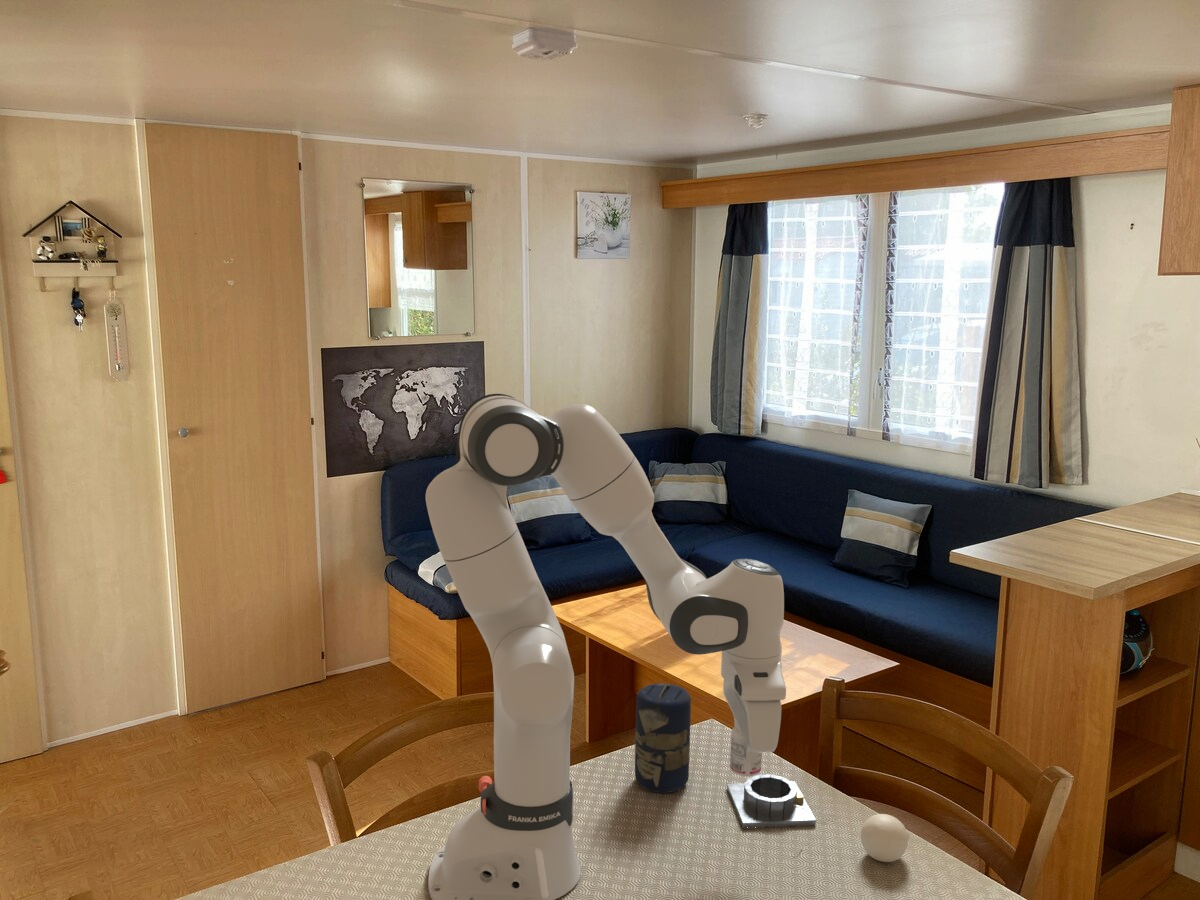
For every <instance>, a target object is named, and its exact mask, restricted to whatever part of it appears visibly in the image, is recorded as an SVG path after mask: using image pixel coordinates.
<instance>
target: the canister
mask: <svg viewBox="0 0 1200 900" xmlns="http://www.w3.org/2000/svg"><path fill="white" fill-rule="evenodd" d="M635 704H636V705H635V708H636V709H635V735H634V738H635V739H634V776H635V780H636V781H637V783H638V784H639V786H641V787H642V788H644V789H646V790H648V791H651V792H655V793H672V792H676V791H678V790H681V789H682V788H684V787H685V786H686V784H687V783H688V781H689V777H690V749H691V747H690V746H691V716H692V715H691V713H692V711H691V710H692V697H691V695H690V693H689V692H688V691H687V690H686V689H685V688H683V687H681V686H679V685H675V684H672V683H665V682H664V683H652V684H648V685H645V686H643V687H642V688H641V689H639V691H638V692H637V694H636V702H635Z"/></svg>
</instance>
